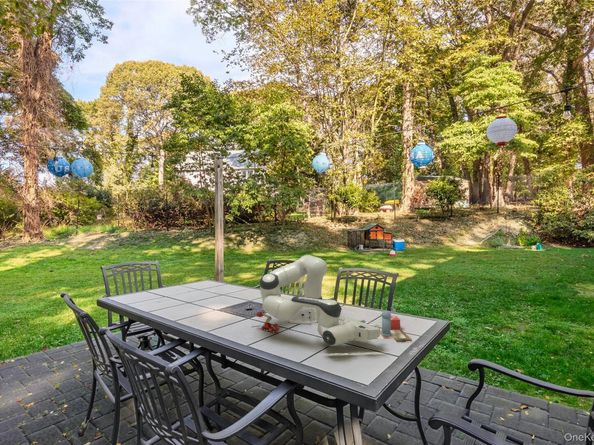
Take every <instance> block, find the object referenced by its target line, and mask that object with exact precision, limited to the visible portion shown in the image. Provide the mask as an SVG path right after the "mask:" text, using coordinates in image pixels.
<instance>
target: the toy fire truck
mask: <svg viewBox="0 0 594 445" xmlns="http://www.w3.org/2000/svg"><path fill="white" fill-rule="evenodd" d="M256 317H258V318H263V317H265V318H266V320H265V322H264V324H263V325H262V326H261V330H263V331H264V332H265V331H266V332H267V333H268V332H271V333H273V334H277V333H279V332H280V327H279V326H280V325H279V324H278V323H277V322H275V323H273V324H272V323H270V322H271V320H272V319H273V318H272V316H271V315H269V314H266V313H265V311H259V312H258V313H256Z"/></svg>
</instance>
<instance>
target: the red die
mask: <svg viewBox="0 0 594 445" xmlns="http://www.w3.org/2000/svg"><path fill="white" fill-rule="evenodd" d="M400 329H401V319H400V318H399V316H396V315H395V316H394V315H391V330H400Z"/></svg>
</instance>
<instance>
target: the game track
mask: <svg viewBox="0 0 594 445" xmlns="http://www.w3.org/2000/svg"><path fill="white" fill-rule="evenodd" d="M381 332H382V330H380V336H379V337H377V338H375V339H374V340H386V339H387V340H388V339H390V340H391V339H392V340H394V341H395V342H396V343H407V342H406V341H413V340H412V338H411V337H410V336H409V335H408V334H407V333H406V332H405V331H404V330H403V329H401V328H400V330H391V333H392V335H391V336H382V335H381Z"/></svg>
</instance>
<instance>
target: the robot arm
mask: <svg viewBox="0 0 594 445" xmlns="http://www.w3.org/2000/svg"><path fill="white" fill-rule="evenodd" d="M327 271H328V263H327V262H326V261H325V260H324V259H322V258H320V257H317V256H313V255H311V254H305V255H301V257H300V258H298V259H297V260H295V261H293V262H292V263H288V264H286V265H283V266H281V267H278V268H276V269H274V270H272V271H270V272H269V273H265V274H264V275H262V276H261V277H260V280H259V286H260V288H259V289H260V290H259V292H260V297H261V300H262V310H263V312H264V313H267V315H269V316H271V317H273V318H276V319H278V320H281V321H283V322H289V323H290V324H298V325H299V324H301V325H303V324H305V325H312V324H317V332H318V334H319V335H320V336H321V337H322V340H323V342H324V343H325V345H327V346H329V347H337V346H340V345H341V346H342V345H344V344H346V343H349V342H352V341H353V342H362V343H367V342H368V341H370V340H371V341H372V340H376V339H375V338H377V337H379V336H380V335H381V334H380V331H381V326H380V325H378V324H377V325H375V326H374V325H371V324H369V323H366V320H363V319H360V320H359V319H358V320H357V319H354V318H352V317H349V318H346V319H344V320H343V321H342V322H339V321H340V317H341V314H342V313H341V312H342V306H341V304H340V303H339V302H338V300H335V299H330V298H329V299H327V298H323V296H322V290H323V289H322V287H323V286H322V285H323V284H322V283H323V279H324V276H325V275H326V273H327ZM305 276H306V278H305V281H304V282H303V295H295V296H293V297H292V298H286V297H284V296H283V297H282V290H281V288H283V287H285V286H288V285H290V284H293V283H296V282H298V281H299V280H301V278H303V277H305Z"/></svg>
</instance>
